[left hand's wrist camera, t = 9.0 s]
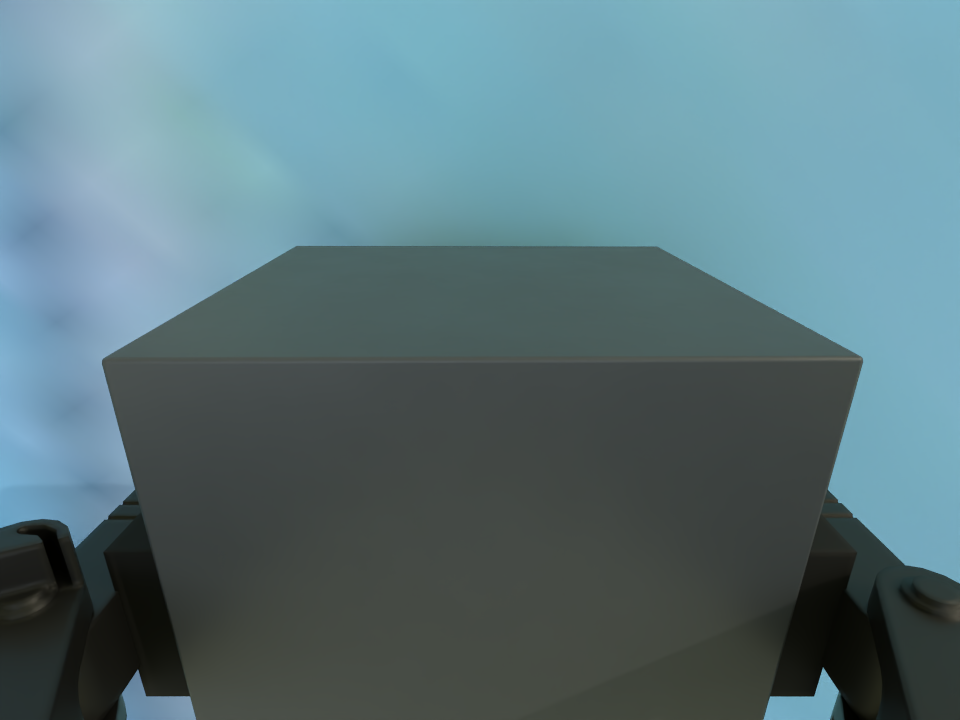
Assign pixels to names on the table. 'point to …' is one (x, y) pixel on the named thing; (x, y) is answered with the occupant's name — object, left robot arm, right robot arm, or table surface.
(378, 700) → the wide block
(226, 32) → the table surface
